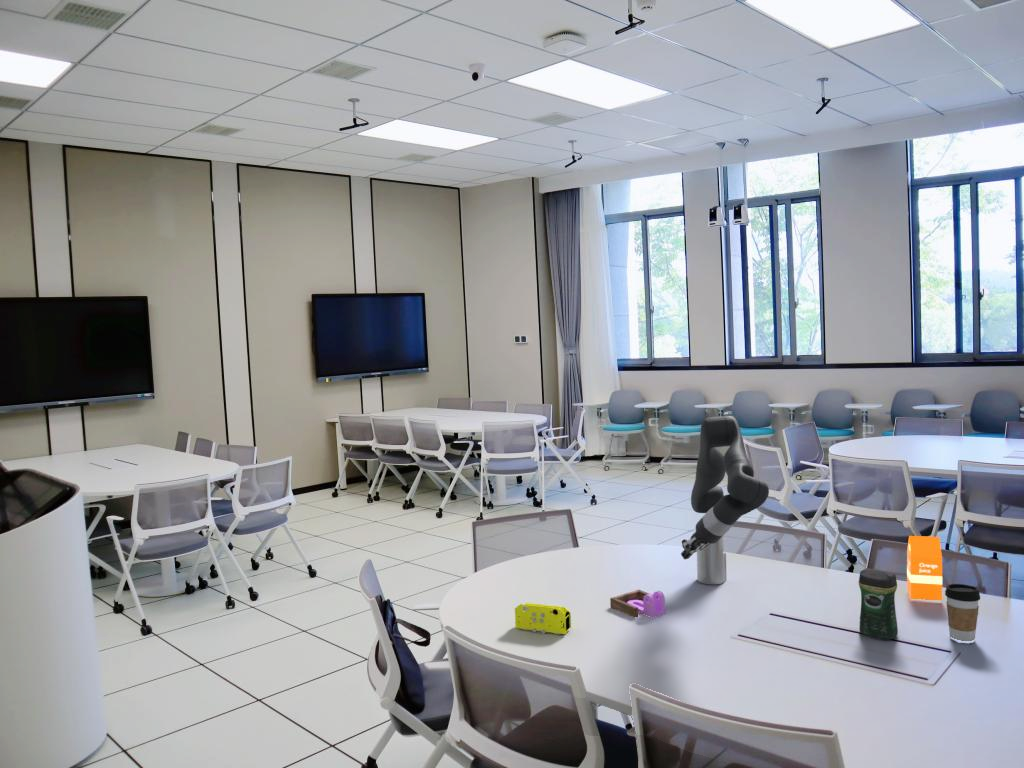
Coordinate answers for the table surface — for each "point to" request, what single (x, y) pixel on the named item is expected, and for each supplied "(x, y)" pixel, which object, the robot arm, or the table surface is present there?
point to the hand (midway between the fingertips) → (684, 556)
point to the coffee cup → (962, 610)
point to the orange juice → (924, 568)
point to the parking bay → (623, 606)
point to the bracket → (650, 604)
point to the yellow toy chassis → (543, 618)
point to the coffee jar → (878, 604)
